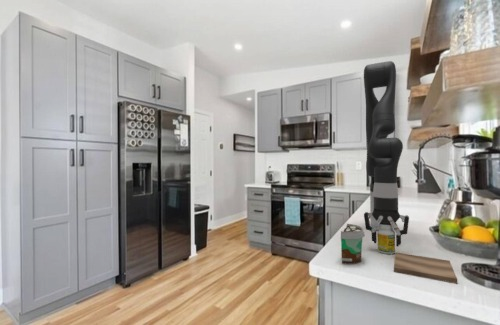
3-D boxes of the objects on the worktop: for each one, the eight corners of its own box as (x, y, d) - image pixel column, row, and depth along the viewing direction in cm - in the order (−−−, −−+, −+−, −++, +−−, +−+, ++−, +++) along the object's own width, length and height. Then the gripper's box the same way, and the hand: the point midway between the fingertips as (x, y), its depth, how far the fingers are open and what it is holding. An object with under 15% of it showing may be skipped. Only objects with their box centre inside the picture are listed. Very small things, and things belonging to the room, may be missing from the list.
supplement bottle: (382, 248, 92) (382, 221, 92) (398, 252, 87) (397, 224, 87) (374, 251, 89) (374, 223, 89) (389, 255, 84) (389, 226, 84)
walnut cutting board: (395, 256, 84) (395, 252, 84) (449, 264, 76) (449, 260, 76) (393, 271, 72) (393, 267, 72) (457, 283, 64) (457, 278, 65)
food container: (363, 268, 74) (362, 234, 74) (340, 264, 77) (340, 231, 77) (366, 255, 85) (366, 225, 85) (347, 252, 88) (346, 223, 88)
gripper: (410, 195, 87) (410, 244, 87) (364, 193, 95) (364, 238, 95) (410, 198, 81) (410, 251, 81) (361, 195, 89) (361, 243, 88)
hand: (386, 244), depth 88 cm, fingers open, 6 cm apart
